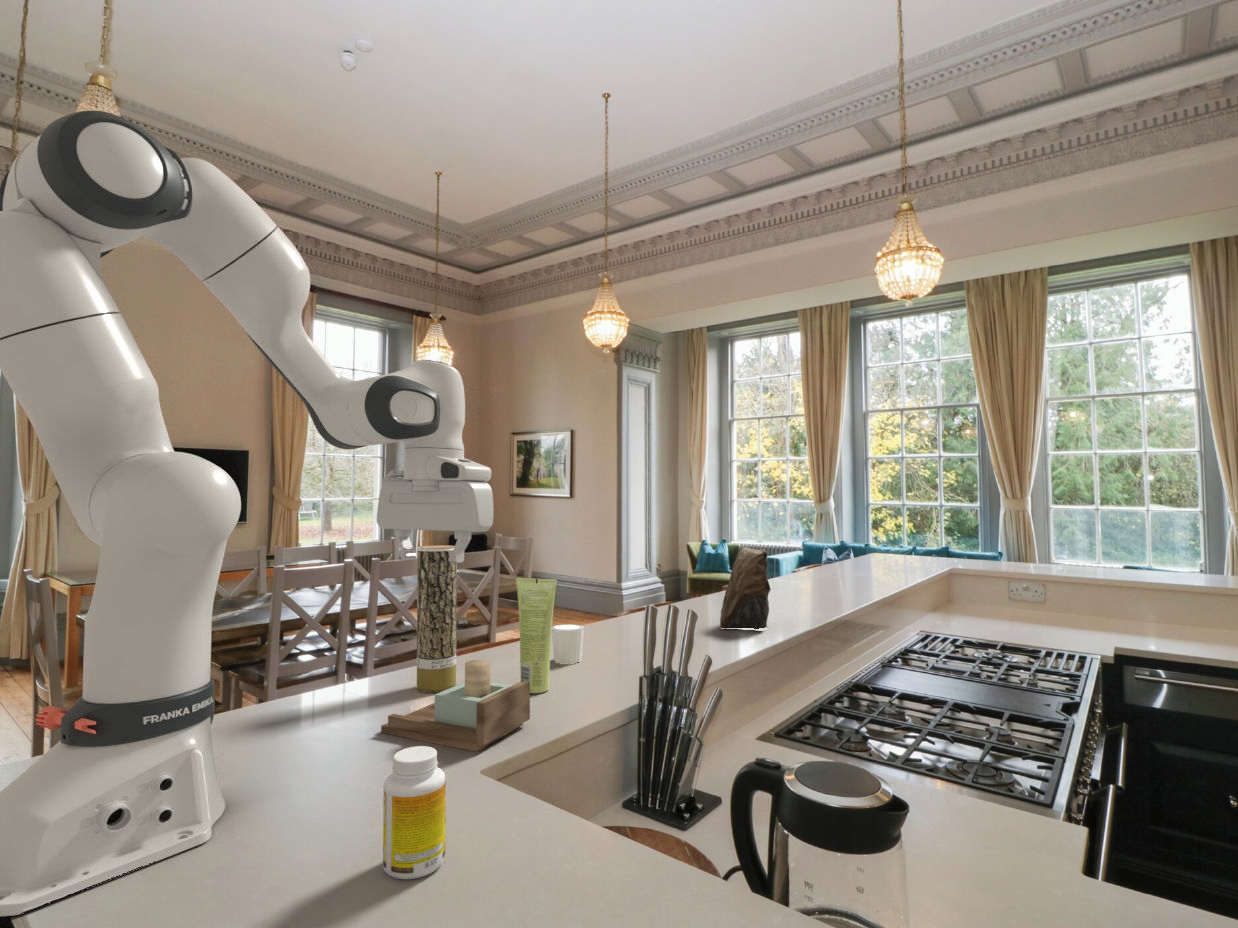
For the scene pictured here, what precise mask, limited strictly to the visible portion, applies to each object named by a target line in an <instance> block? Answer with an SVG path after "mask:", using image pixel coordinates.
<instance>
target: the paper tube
mask: <svg viewBox="0 0 1238 928" xmlns="http://www.w3.org/2000/svg"><path fill="white" fill-rule="evenodd" d="M454 547H455V545H449V544H448V545H447V544H446V545H442V544H441V545H422V546H418V547H417V549H416V552H417V554H416V558H417V562H416V563H417V564H416V565H417V566H416V567H417V575H416V577H417V579H416V581H417V582H416V589H417V591H416V595H417V596H416V688H417V689H418V690H419V691H420V692H422V693H423V692H424V693H440V692H442V691H445V690H447V689H450V688H452V687H454V686H456V685H457V600H458V599H457V597H458V596H457V595H458V594H457V592H458V591H457V590H458V589H457V588H458V587H457V585H458V584H457V581H458V580H457V575H458V574H457V571H458V570H457V569H458V564H457V563H453V562H449V550H453V549H454Z"/></svg>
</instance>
